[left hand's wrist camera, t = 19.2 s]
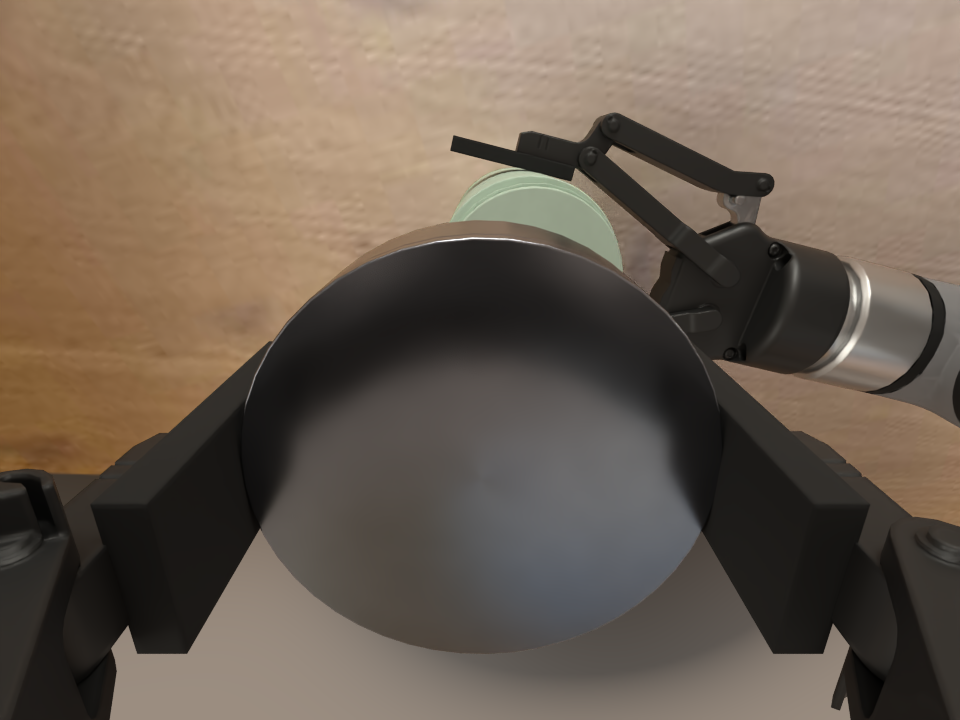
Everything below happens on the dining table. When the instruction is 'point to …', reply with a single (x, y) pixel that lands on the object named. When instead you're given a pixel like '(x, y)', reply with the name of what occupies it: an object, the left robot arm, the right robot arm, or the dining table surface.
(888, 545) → the left robot arm
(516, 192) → the jar
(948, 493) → the dining table surface
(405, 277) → the lid
